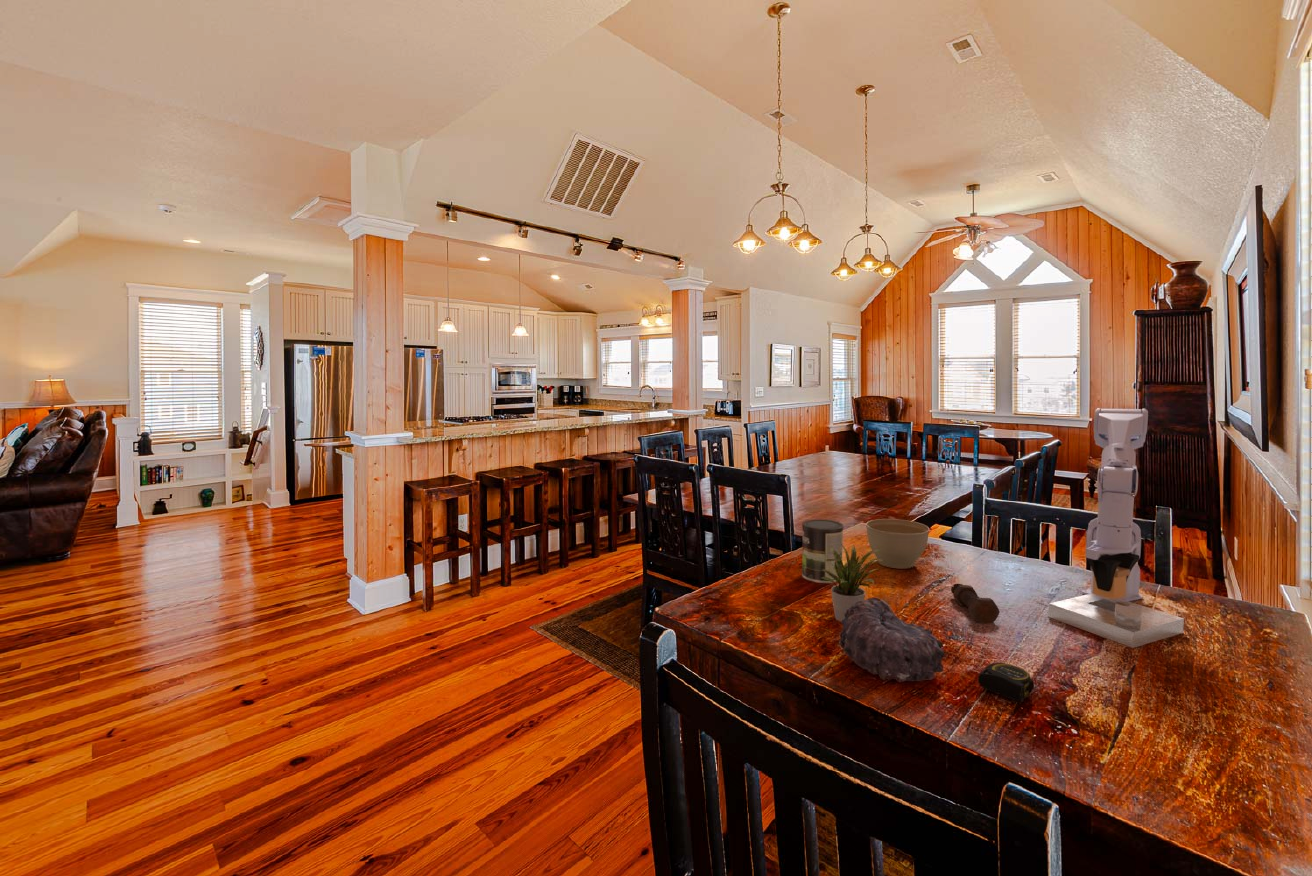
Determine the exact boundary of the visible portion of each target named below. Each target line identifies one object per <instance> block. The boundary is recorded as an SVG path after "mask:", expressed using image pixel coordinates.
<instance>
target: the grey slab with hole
mask: <svg viewBox="0 0 1312 876" xmlns="http://www.w3.org/2000/svg"><path fill="white" fill-rule="evenodd" d="M1048 618H1051V619H1053V620H1056V621H1058V622H1061V623H1064V624H1067V625H1069V626H1072V627H1075V628H1076V629H1077V628H1078V629H1080V630H1083V631H1086V632H1089V633H1091V634H1094V635H1096V636H1098V637H1102V638H1104V639H1107V640H1110V641H1113V642H1116V643H1119V644H1121V645H1123V646H1126V647H1129V648H1131V649H1134V648H1137V647H1141V646H1144V645H1148V644H1151V643H1154V642H1157V641H1160V640H1164V639H1168V638H1171V637H1174V636H1177V635H1181V634H1183V633H1184V625H1185V618H1183V617H1181V616H1177V615H1174V614H1172V613H1167V612H1166V611H1165V612H1164V611H1162V610H1159V609H1153V608H1151V607H1148V606H1144V605H1141V604H1138V603H1135V602H1133V601H1125V600H1122V599H1115V600H1112V599H1109V598H1106V597H1102V596H1099V595H1095V594H1093V593H1091V594H1087V595H1086V594H1083V595H1078V596H1076V597H1071V598H1066V599H1063V600H1057V601H1054V602H1050V603H1048Z"/></svg>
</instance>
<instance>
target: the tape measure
mask: <svg viewBox="0 0 1312 876" xmlns="http://www.w3.org/2000/svg"><path fill="white" fill-rule="evenodd" d="M977 681H978V684H979V686H980V687H982V689H983V688H984V689H985V690H987V691H989V692H992V693H995V694H998V695H1000V696H1002V697H1005V698H1008V699H1011V700H1013V701H1014V702H1017V703H1018V702H1019V703H1022V702H1023V701H1024V700H1025V699H1026V698H1028V697H1029V696H1030V694H1031V693H1032V692H1033V690H1034V688H1035V683H1034V680H1033V679H1032V678H1031V675H1030V673H1029V672H1028V670H1027V671H1026V670H1025V669H1023V668H1021V667H1020V666H1017V665H1015V664H1014V665H1013V664H1010V663H1007V662H1006V663H1004V662H994V663H990V664H987V665H986V666H985V668H984V669H983V670H981V672H980V673H978V675H977Z"/></svg>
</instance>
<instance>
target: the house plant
mask: <svg viewBox="0 0 1312 876" xmlns="http://www.w3.org/2000/svg"><path fill="white" fill-rule="evenodd" d="M840 544H841V543H840ZM841 545H842V544H841ZM829 547H830V546H829ZM842 547H843V550H844V552H845V553H844V554H845V557H846V562H843V558H842V559H841V557H840V555H839V554H838V553H837V552H836V551H835V550H834V549H833V548H832V547H830V548H831V550H832V552H833V555H834V557H835V559H836V561H835V564H834V566H835V568H834V569H835V570H836V573H837V576H838V577H837V576H836V575H834V574H833V573H831V572H829V571H827V570H824V569H822V570H823V571H825V572H826V573H827V574H828V575H830V576H831V577H833V578H834V579H835V580H836V583H837V584H836V583H835V582H834V581H833V580H831V579H830V578H828V577H822V578H823V579H826V580H829V581H831V582H832V583H831V584H834V585H833V586H832V587H831V589H830V592H831V598H832V607H833V610H834V611H833V612H834V619H835V620H836V621H839V622H840V623H842V620H843V619H844V618H845V615H844V613H846V611H847V609H848V608H851V606H852V605H854V604H855V603H856V602H857V601H864V600H866V599H865V598H866V592H867V591H866V590H865V589H863V588H861V587H860V586H862V587H868V588H870V589H872V587H871V585H870V584H869V583H866V582H871V583H872V584H873V585H875V580H874V579H873V578H867V577H868V576H870V575H871V573H872V572H874V571H877V570H879V568H875V569H873V568H872V569H871V570H869V571H866V570H867V569H868V568H869V566H870V565H871V564H872V563H874V562H875V561H877V560H881V559H880V558H877V557H875V558H873V559H871V560H870V561H869V562H868V563H867V564H866V565H865V566H864V567H863V568H862V569H861V567H862V566H863V565H864V563H865V561H866V560H867V559H868V558H869V557H870V556H872V554H874V553H873V552H875V551H878V550H881V549H878V550H873V551H872V550H870V551H868V552H866V554H864V555H863V554H861V555H858V556H857V550H856V546H855V544H852V546H851V550H850V551H851V553H850V555H849V553H848V550H847V549H846V548H845V546H844V545H842ZM816 554H817V553H816ZM819 555H820V554H819ZM821 556H822V555H821ZM861 556H862V557H861ZM823 557H824V556H823ZM860 557H861V558H860ZM824 558H825V557H824ZM859 559H860V560H859ZM882 561H885V560H882ZM834 566H833V567H834ZM860 569H861V570H860ZM865 581H866V582H865Z"/></svg>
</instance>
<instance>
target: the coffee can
mask: <svg viewBox="0 0 1312 876" xmlns="http://www.w3.org/2000/svg"><path fill="white" fill-rule="evenodd" d="M801 526H802V548H801V549H802V553H801V554H802V562H801V563H802V564H801V565H802V568H801V569H802V570H801V571H802V573H801V576H802V578H803V579H805V580H806V581H809V582H813V583H817V584H818V583H819V584H833V583H832V582H831V581H829V580H826V579H823V578H822V577H828V578H830V579H831V580H833V581H834V582H835V584H836V583H837V582H836V580H835V579H834V578H833V577H831V576H830V575H828V574H827V573H826V572H825V571H823V570H822V569H824V570H827V571H829V572H831V573H833V574H834V575H836V576H837V573H836V570H835V569H834V568H835V566H834V564H835V561H836V559H835V557H834V555H833V552H832V550H831V548H830V547H832V548H833V549H834V550H835V551H836V552H837V553H838V554H839V555H840V557H841V559H842V560H843V550H844V549H843V547H842V545H843V544H844V541H843V540H844V539H843V538H844V524H843V523H842V522H839V521H836V520H832V519H821V518H819V519H818V518H817V519H815V518H814V519H808V520H805V521H803V522H802V525H801ZM840 543H841V544H842V545H841V544H840ZM829 546H830V547H829ZM843 546H844V545H843ZM816 553H817V554H816ZM819 554H820V555H819ZM821 555H822V556H821ZM823 556H824V557H825V558H824V557H823ZM833 566H834V567H833ZM837 577H838V576H837Z"/></svg>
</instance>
